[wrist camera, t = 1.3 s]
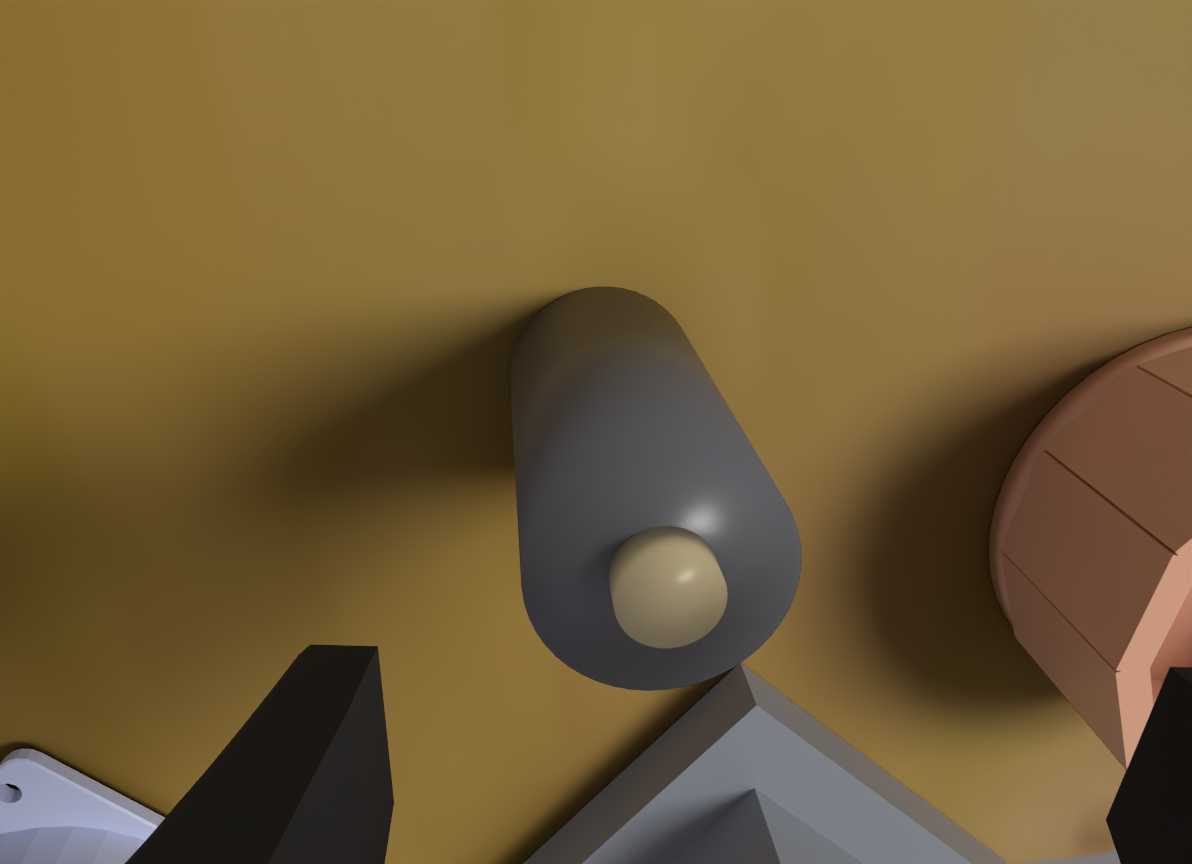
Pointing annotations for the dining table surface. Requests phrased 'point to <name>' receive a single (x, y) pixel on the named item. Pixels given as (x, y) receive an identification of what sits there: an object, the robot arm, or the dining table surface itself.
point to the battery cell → (640, 500)
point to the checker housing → (757, 796)
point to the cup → (1105, 538)
